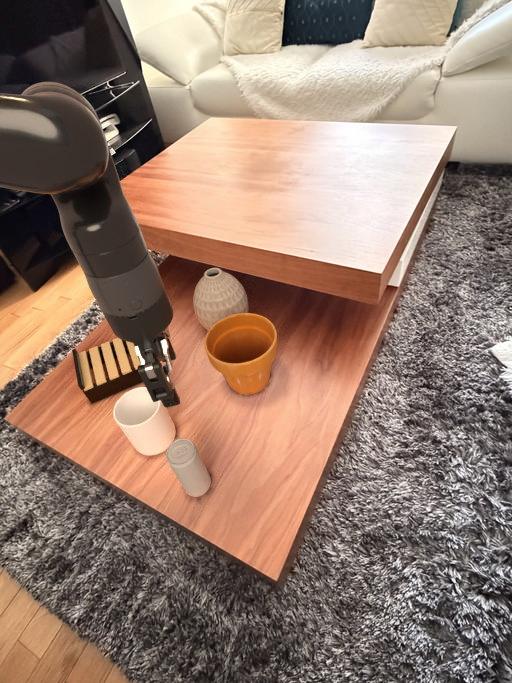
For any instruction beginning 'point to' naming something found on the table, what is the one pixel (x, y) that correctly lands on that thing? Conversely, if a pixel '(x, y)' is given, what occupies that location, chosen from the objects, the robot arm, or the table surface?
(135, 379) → the rack
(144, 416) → the mug
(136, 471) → the table surface
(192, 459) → the beverage can
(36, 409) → the table surface
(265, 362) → the flower pot
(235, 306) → the vase
